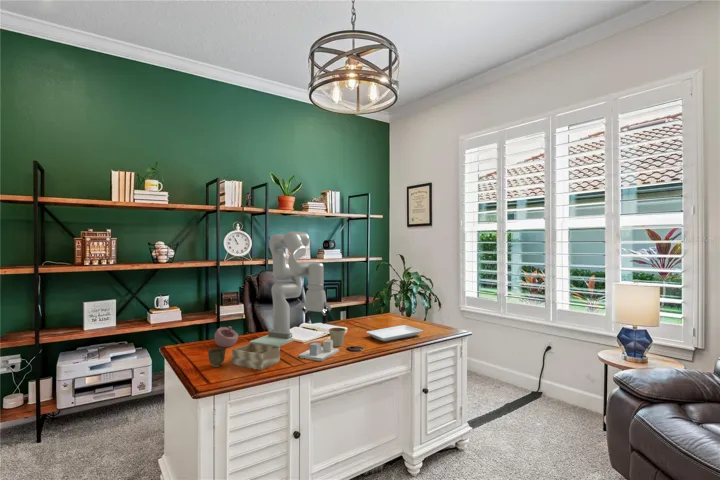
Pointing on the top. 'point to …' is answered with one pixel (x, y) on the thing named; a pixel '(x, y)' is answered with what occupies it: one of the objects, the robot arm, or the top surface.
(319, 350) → the grey block
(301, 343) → the top surface
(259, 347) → the birch box
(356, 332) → the top surface
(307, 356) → the white dish
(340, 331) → the flower pot
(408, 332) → the tray
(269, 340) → the lid
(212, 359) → the cup
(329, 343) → the beige block
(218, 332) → the mortar and pestle
